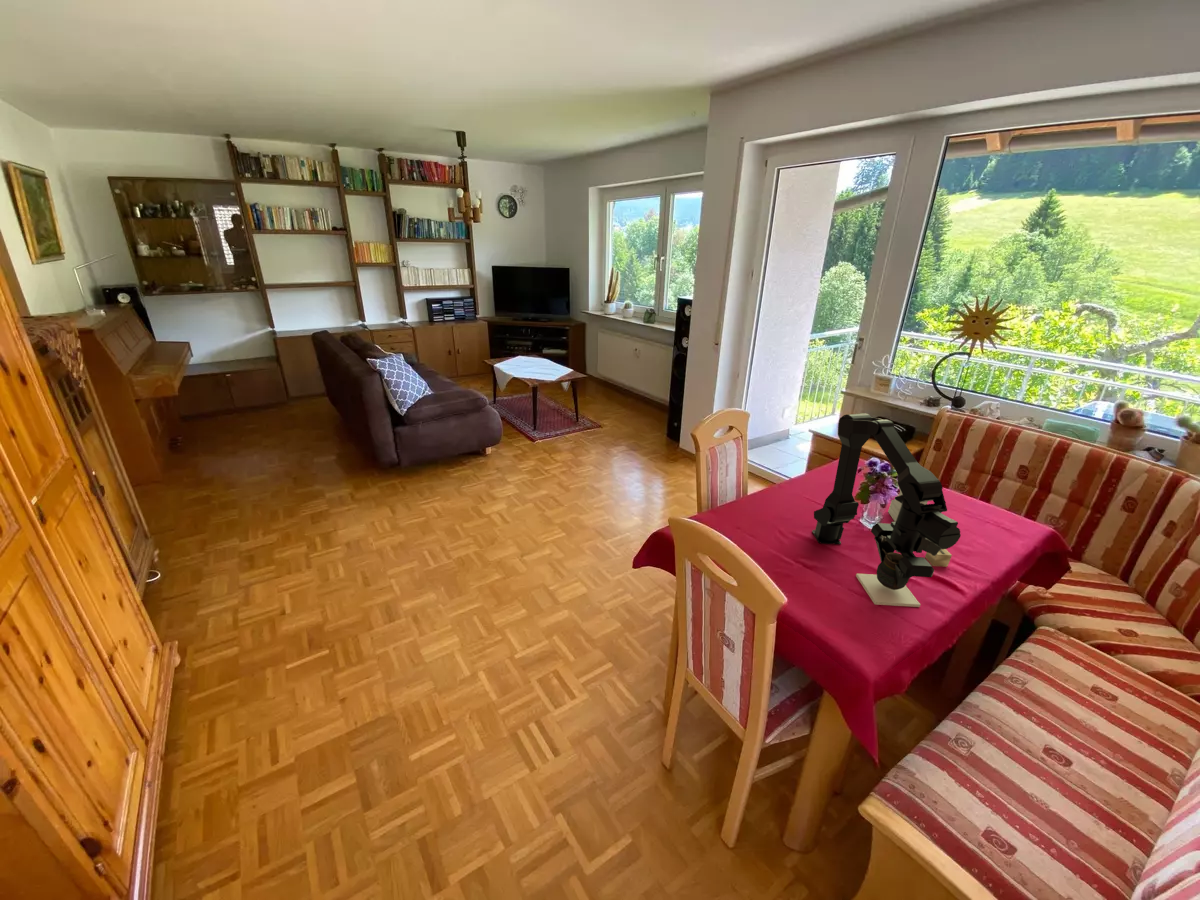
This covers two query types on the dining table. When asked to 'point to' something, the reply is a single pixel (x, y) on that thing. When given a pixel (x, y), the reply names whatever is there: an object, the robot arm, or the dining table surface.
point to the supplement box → (897, 507)
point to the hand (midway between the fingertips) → (891, 575)
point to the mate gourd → (889, 571)
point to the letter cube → (939, 558)
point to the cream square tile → (886, 592)
